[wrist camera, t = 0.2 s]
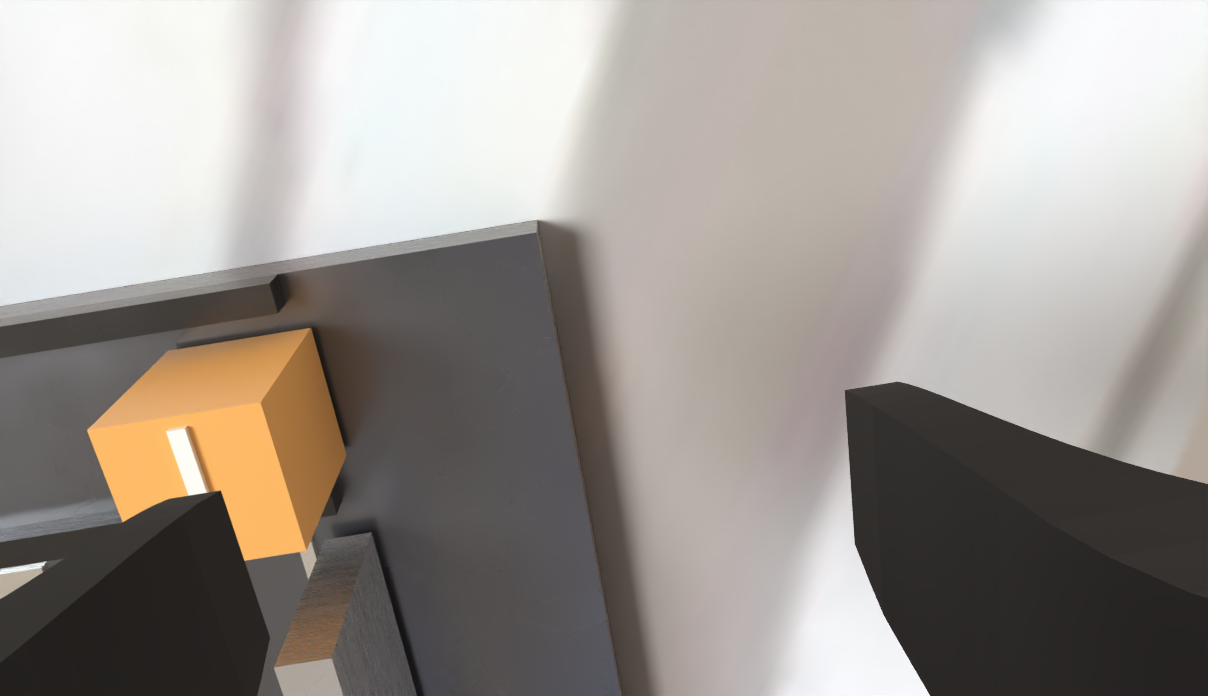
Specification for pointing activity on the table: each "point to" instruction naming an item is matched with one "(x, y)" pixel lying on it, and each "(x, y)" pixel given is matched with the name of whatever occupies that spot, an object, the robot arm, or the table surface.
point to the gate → (345, 629)
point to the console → (356, 445)
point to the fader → (229, 437)
